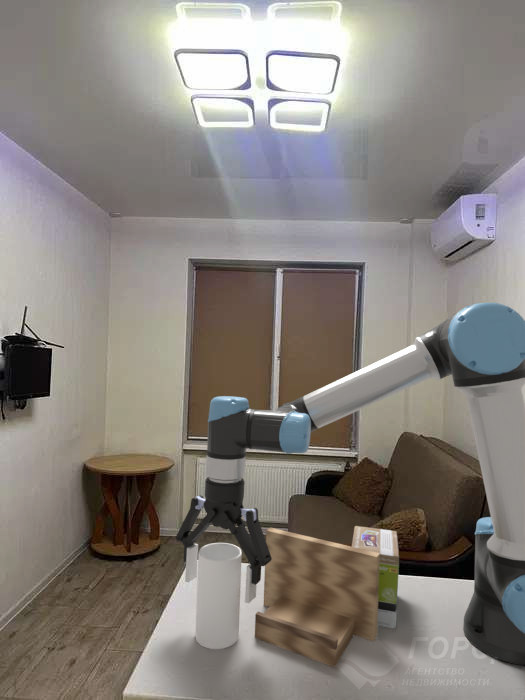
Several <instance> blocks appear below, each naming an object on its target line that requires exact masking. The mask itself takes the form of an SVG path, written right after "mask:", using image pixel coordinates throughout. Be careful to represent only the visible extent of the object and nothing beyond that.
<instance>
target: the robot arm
mask: <svg viewBox="0 0 525 700" xmlns="http://www.w3.org/2000/svg"><path fill="white" fill-rule="evenodd" d="M449 376H452V377H451V378H452V381H453V386H454V387H453V388H454V389H455V390H457V391H459V392H460V393H462V394H463V395H464V396H465V397H466V403H467V407H468V412H469V413H468V414H469V417H470V421H471V428H472V432H473V437H474V440H475V447H476V452H477V456H478V463H479V466H480V471H481V476H482V481H483V485H484V491H485V495H486V499H487V500H486V501H487V504H488V505H487V506H488V511H489V515H490V516H486V517H481V518H479V519H478V520H477V522H476V526H475V527H476V528H475V532H474V536H475V538H474V539H475V541H474V542H475V546H474V550H475V551H474V579H473V581H474V585H473V586H474V587H473V589H474V590H473V594H472V597H471V599H470V601H469V603H468V606H467V608H466V610H465V613H464V616H463V627H462V629H463V633H464V636H465V637H466V639H467V640H468V641H469V642H470V643H471V644H472V645H473V646H474V647H476V648H477V649H479V650H480V651H481V652H483V653H485V654H486V655H489V656H490V657H493V658H495V659H497V660H500V661H502V662H507V663H510V664H515V665H518V666H519V665H520V666H525V399H524V394H523V389H522V388H523V387H524V386H525V319H524V318H523V316H522V315H521V314H520V313H519V312H517V311H516V310H514V309H513V308H512V307H510V306H508V305H505V304H503V303H498V302H482V303H474V304H471V305H467V306H465V307H464V308H461V310H459V311H457V312H456V313H452V315H450V316H448V318H446V319H445V320H443V321H442V322H441V323H439V324H438V325H437V326H435V327H433V328H432V329H430V330H428V331H427V332H425V333H423V334H421V335H419V336H416V337H415V339H414V342H413V343H412V344H411V345H409V346H407V347H405V348H402V349H401V350H399V351H396V352H394V353H392V354H390V355H388V356H386V357H383V358H382V359H379V360H377V361H374V362H373V363H371V364H369V365H366V366H365V367H362V368H360V369H358V370H356V371H354V372H352V373H349V374H347V375H346V376H344V377H341V378H338V379H337V380H335V381H333V382H331V383H329V384H327V385H324V386H322V387H320V388H318V389H316V390H314V391H312V392H310V393H309V392H308V394H305V395H304V396H301V397H299V398H296V399H295V400H293V401H291V402H287V403H283V405H280V406H279V407H278V408H277V409H275V410H268V409H256V408H250V405H249V400H248V399H247V397H242V396H241V397H240V396H232V395H231V396H229V395H228V396H227V395H223V396H222V395H221V396H220V395H219V396H216V397H215V396H214V397H213V398H212V399H211V401H210V402H209V409H208V410H209V411H208V419H207V444H206V445H207V448H206V450H207V451H206V462H205V476H206V478H205V482H204V496H203V495H202V494H201V495H197V496H195V497H193V498H191V500H190V507H189V510H188V512H187V514H186V516H185V518H184V520H183V521H182V524H181V526H180V527H179V530H178V532H177V534H176V536H175V540H176V542H180V543H182V546H183V562H184V563H185V580H184V581H185V583H190V582H191V581H193V580H194V579H196V578H198V554H199V544H198V543H196V542H197V540H198V539H199V538H200V537H201V536H202V535H203V534H204V532H205V531H207V529H208V528H209V527H210V526H211V525H212V526H213V527H216V528H219V527H220V528H221V529H223V530H229V532H230V533H231V534H232V535H234V537H235V539H236V541H237V543H238V544H239V546H240V549H241V551H242V552H243V553H244V555H245V556H246V558H247V560H248V562H249V564H248V565H246V575H245V576H246V577H245V593H244V594H245V595H244V603H246V604H250V603H251V602H252V601H253V600H254V599H256V597H257V584H258V583H259V582H260V581H261V578H262V567H265V565H266V564H268V563H269V562H270V561H271V560H272V558H271V555H270V552H269V549H268V546H267V543H266V537H265V535H264V533H263V529H262V527H261V524H260V521H259V509H258V508H257V507H253V508H244V505H243V502H244V498H245V480H244V477H245V475H246V472H245V471H246V457H247V449H248V450H257V451H268V452H274V453H275V452H277V453H285V454H286V455H287V454H288V455H291V454H305V453H307V452H308V450H309V447H310V442H311V433H312V432H314V431H316V430H318V429H320V428H323V427H324V426H327V425H329V424H331V423H334V422H336V421H338V420H340V419H342V418H345V417H347V416H349V415H351V414H354V413H356V412H358V411H360V410H363V409H365V408H367V407H369V406H372V405H373V404H376V403H379V402H381V401H383V400H385V399H387V398H389V397H392V396H394V395H396V394H398V393H400V392H403V391H404V390H407V389H409V388H411V387H414V386H417V385H418V384H421V383H423V382H425V381H428V380H430V379H433V380H437V381H440V380H442V379H443V378H447V377H449ZM204 497H205V498H204ZM202 509H204V510H205V513H206V515H205V516H204V517H203V518H202V520H200V522H199V524H198V525H196V527H195V528H194V529H193V526H194V525H195V523H196V521H197V519H198V517H199V516H200V513H201V512H202ZM245 522H246V523H245ZM192 529H193V530H192ZM191 530H192V531H191Z"/></svg>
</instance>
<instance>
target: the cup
mask: <svg viewBox="0 0 525 700" xmlns="http://www.w3.org/2000/svg"><path fill="white" fill-rule="evenodd" d="M242 552H243V551H242V548H241V547H239V546H237V545H235V544H232V543H227V542H214V543H213V542H212V543H208V544H205V545H203V546H202V547H200V548H199V549H198V560H197V580H196V581H197V585H196V588H197V589H196V606H195V607H196V609H195V611H196V612H195V613H196V615H195V634H194V636H195V640H196V643H198V644H199V645H200V646H201V647H204V648H206V649H210V650H222V649H227V648H229V647H231V646H233V645H235V644H236V643H237V641H238V640H239V637H240V635H239V634H240V610H241V609H240V608H241V607H240V606H241V581H242V580H241V579H242V558H243V557H242Z"/></svg>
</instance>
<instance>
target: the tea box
mask: <svg viewBox="0 0 525 700" xmlns="http://www.w3.org/2000/svg"><path fill="white" fill-rule="evenodd" d="M351 541H352V542H351V547H355V548H359V549H364V550H368V551H372V552H376V553H380V561H379V592H378V624H377V627H384V628H388V629H396V626H397V614H398V613H397V612H398V611H397V609H398V589H399V572H400V571H399V570H400V569H399V568H400V555H399V554H400V552H399V543H398V542H399V541H398V532H397V531H396V530H389V529H381V528H376V527H375V528H374V527H367V526H359V525H355V526H354V528H353V536H352V540H351Z"/></svg>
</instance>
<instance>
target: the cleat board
mask: <svg viewBox="0 0 525 700" xmlns="http://www.w3.org/2000/svg"><path fill="white" fill-rule="evenodd" d="M265 541H266V543H267V546H268V549H269V552H270V555H271V558H272V560H271V561H270V562H269V563H268V564H266V565H265V566H264V576H263V577H264V581H263V582H264V583H263V588H264V589H263V606H265V607H268V608H267V609H266V610H265V611H264V612H261V611H257V612H256V613H255V617H254V618H255V619H254V620H255V621H254V638H255V639H257V640H259V641H262V642H265V643H268V644H271V645H274V646H277V647H279V648H282V649H283V650H286V651H289V652H291V653H295V654H297V655H301V656H303V657H306V658H308V659H310V660H314V661H315V662H319V663H322V664H325V665H328V666H329V667H333V668H336V666H337V665H338V663H339V662H340V659H341V658H342V656H343V654H344V653H345V651H346V649H347V648H348V646H349V644H350V642H351V641H352V639H353V637H354V636H356V637H359V638H362V639H366V640H367V641H368V640H369V641H371V640H372V642H375V641H376V639H377V637H378V626H377V624H378V592H379V561H380V553H376V552H372V551H368V550H364V549H359V548H355V547H352V545H351V546H350V545H345V544H342V543H338V542H333V541H328V540H325V539H319V538H315V537H312V536H309V535H303V534H300V533H299V534H298V533H296V532H291V531H287V530H286V531H285V530H282V529H278V528H273V527H269V528H268V529H266V530H265Z"/></svg>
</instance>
